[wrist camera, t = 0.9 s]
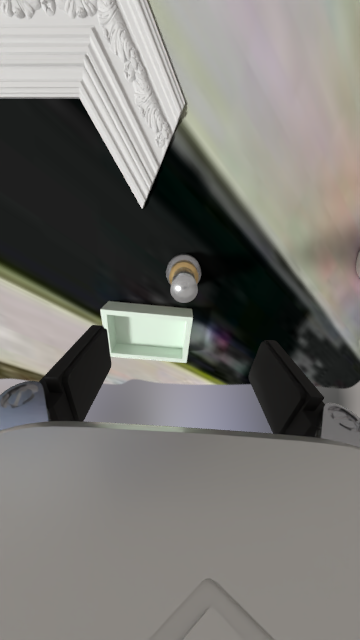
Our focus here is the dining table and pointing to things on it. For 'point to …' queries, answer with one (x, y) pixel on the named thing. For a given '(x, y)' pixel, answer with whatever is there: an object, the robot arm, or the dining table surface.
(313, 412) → the robot arm
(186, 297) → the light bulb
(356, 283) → the dining table surface
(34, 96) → the crown molding
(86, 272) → the dining table surface
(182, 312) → the bin
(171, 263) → the silver metal dome
